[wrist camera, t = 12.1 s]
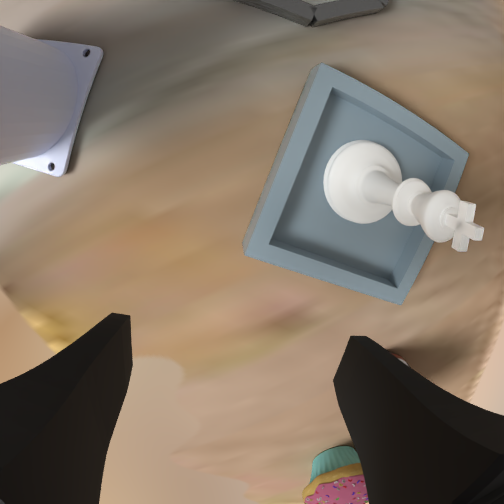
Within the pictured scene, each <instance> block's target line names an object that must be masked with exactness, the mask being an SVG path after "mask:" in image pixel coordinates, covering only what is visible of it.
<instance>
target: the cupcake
mask: <svg viewBox="0 0 504 504" xmlns="http://www.w3.org/2000/svg"><path fill="white" fill-rule="evenodd" d="M302 496H303V501H304V503H305V504H365V503H367V502H368V501H369V500H368V494H367V489H366V484H365V480H364V475H363V471H362V467H361V463H360V460H359V457H358V454H357V452H356V451H355V450H354V449H353V448H352V447H349V446H339V447H334V448H331V449H328V450H326V451H324V452H322V453H320V454H319V455H318V456H317V457H316V458H315V459H314V460H313V465H312V474H311V480H310V483H309V485H308V486H307V487H306V488H305V489H304V490H303V492H302Z"/></svg>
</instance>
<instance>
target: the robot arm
mask: <svg viewBox="0 0 504 504" xmlns="http://www.w3.org/2000/svg"><path fill="white" fill-rule="evenodd" d="M89 50H90V51H91V52H90V55H89V56H87V57H85V53H86V52H87V51H89ZM102 57H103V50H102V49H101V48H99V47H97V46H91V45H84V44H77V43H69V42H61V41H52V40H41V39H33V38H31V37H29V36H26V35H23V34H21V33H18V32H16V31H13V30H10V29H8V28H5V27H2V26H0V165H3V164H7V163H14V164H17V165H21V166H24V167H27V168H30V169H33V170H37V171H40V172H43V173H46V174H49V175H53V176H56V177H60V176H63V175H64V174H65V173H66V171H67V168H68V164H69V159H70V155H71V151H72V148H73V144H74V140H75V136H76V133H77V129H78V126H79V123H80V119H81V116H82V113H83V110H84V106H85V103H86V100H87V97H88V95H89V92H90V89H91V86H92V83H93V80H94V78H95V75H96V72H97V70H98V67H99V65H100V62H101V60H102ZM52 163H54V165H55V168H54V170H52V168H51V164H52ZM132 366H133V361H132V345H131V322H130V315H123V314H117V313H111V314H110V315H108V316H107V317H106V318H104V319H103V320H102V321H101V322H99V323H98V324H97V325H95V326H94V327H93V328H92V329H90V330H89V331H88V332H87V333H85V334H84V335H83V336H81V337H80V338H79V339H77V340H76V341H75V342H73V343H72V344H71V345H69V346H68V347H66V348H65V349H63V350H62V351H60V352H59V353H57V354H56V355H54V356H53V357H52V358H50V359H49V360H47V361H45V362H44V363H42V364H40V365H39V366H37V367H35V368H33V369H31V370H29V371H27V372H26V373H24V374H22V375H20V376H17V377H15V378H13V379H11V380H8V381H6V382H3V383H1V384H0V504H99V498H100V490H101V483H102V476H103V470H104V465H105V459H106V454H107V451H108V447H109V443H110V440H111V437H112V434H113V431H114V428H115V425H116V422H117V419H118V416H119V413H120V410H121V407H122V405H123V402H124V399H125V396H126V393H127V389H128V385H129V380H130V376H131V371H132ZM333 382H334V387H335V392H336V396H337V400H338V404H339V407H340V410H341V412H342V415H343V418H344V420H345V423H346V425H347V428H348V431H349V433H350V436H351V438H352V441H353V443H354V446H355V449H356V451H357V454H358V457H359V460H360V463H361V467H362V471H363V475H364V480H365V484H366V489H367V494H368V500H369V504H504V416H503V415H499V414H496V413H493V412H490V411H488V410H485V409H482V408H480V407H478V406H475V405H473V404H470V403H468V402H466V401H464V400H462V399H460V398H458V397H456V396H454V395H452V394H451V393H449V392H447V391H445V390H443V389H442V388H440V387H438V386H437V385H435V384H434V383H432V382H430V381H429V380H427V379H426V378H424V377H423V376H421V375H420V374H419V373H417V372H416V371H414V370H413V369H411V368H410V367H409V366H407V365H406V364H405V363H403V362H402V361H401V360H399V359H398V358H397V357H395V356H394V355H393V354H391V353H390V352H389V351H387V350H386V349H384V348H383V347H382V346H380V345H379V344H378V343H376V342H375V341H373V340H372V339H370V338H368V337H367V336H350V339H349V341H348V344H347V347H346V349H345V352H344V355H343V357H342V360H341V362H340V365H339V367H338V370H337V372H336V374H335V377H334V379H333Z"/></svg>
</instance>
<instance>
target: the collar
mask: <svg viewBox="0 0 504 504" xmlns="http://www.w3.org/2000/svg"><path fill="white" fill-rule="evenodd" d="M234 1H237V2H241V3H244V4H247V5H250V6H253V7H256V8H259V9H262V10H265V11H268V12H270V13H273V14H276V15H278V16H281V17H284V18H286V19H289V20H291V21H294V22H296V23H299V24H301V25H303V26H306V27H307V25H308V24H309V23H310V24H311V26H312V27H315V26H319V25H323V24H327V23H331V22H335V21H339V20H344V19H348V18H353V17H358V16H363V15H368V14H374V13H376V12H378V11H379V10H381V9H382V8H384V7H385V6H386V5H387V3H388V0H338V1H333V2H328V3H324V4H319V5H315V6H313V5H311V4H308V3H306V2H303V1H301V0H234Z"/></svg>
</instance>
